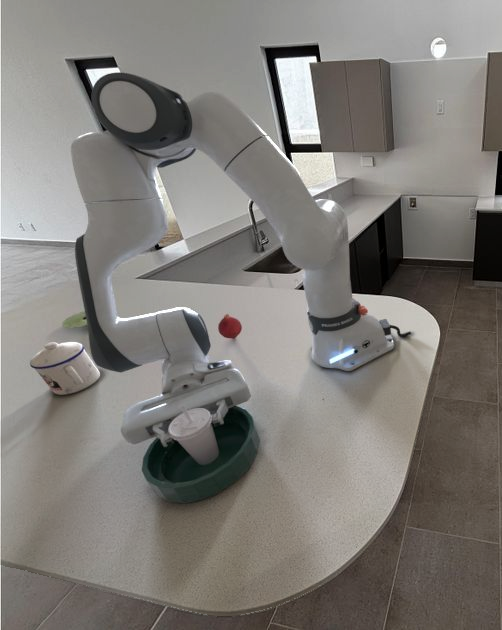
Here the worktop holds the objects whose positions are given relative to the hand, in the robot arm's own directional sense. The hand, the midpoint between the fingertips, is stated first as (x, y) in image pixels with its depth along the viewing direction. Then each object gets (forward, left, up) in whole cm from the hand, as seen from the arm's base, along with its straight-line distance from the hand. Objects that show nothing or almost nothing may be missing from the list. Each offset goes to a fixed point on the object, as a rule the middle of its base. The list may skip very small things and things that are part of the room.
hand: (194, 432), depth 58 cm
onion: (-8, -42, -9) cm, 44 cm away
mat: (+30, -75, -9) cm, 81 cm away
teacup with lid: (+26, -40, -9) cm, 48 cm away
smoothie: (0, -1, -8) cm, 8 cm away
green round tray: (0, -1, -8) cm, 8 cm away
